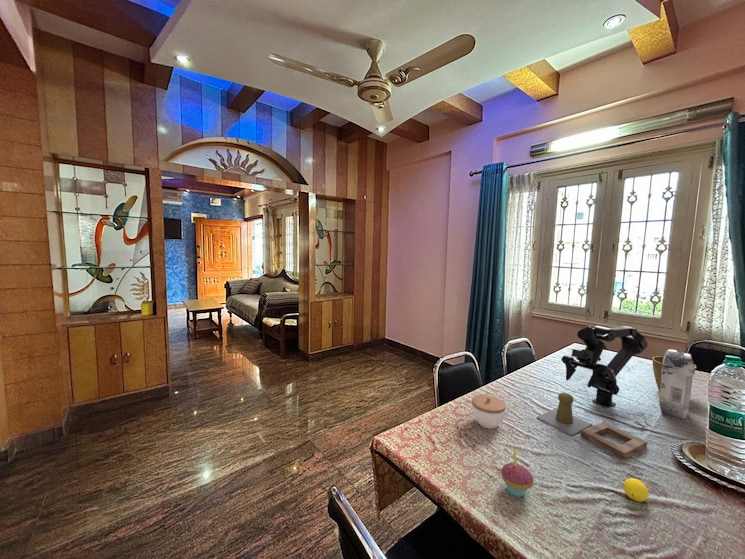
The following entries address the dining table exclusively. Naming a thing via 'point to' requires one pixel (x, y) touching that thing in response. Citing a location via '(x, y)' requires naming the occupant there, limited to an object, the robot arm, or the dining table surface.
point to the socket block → (621, 451)
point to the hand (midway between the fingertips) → (577, 383)
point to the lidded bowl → (488, 410)
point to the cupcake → (516, 478)
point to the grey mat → (569, 429)
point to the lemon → (635, 489)
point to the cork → (565, 409)
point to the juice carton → (676, 383)
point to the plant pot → (660, 369)
